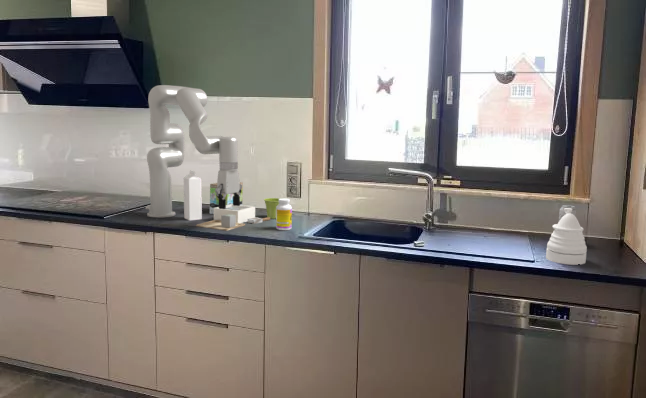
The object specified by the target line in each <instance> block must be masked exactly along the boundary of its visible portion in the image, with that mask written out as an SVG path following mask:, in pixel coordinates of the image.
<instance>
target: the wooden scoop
mask: <svg viewBox="0 0 646 398" xmlns="http://www.w3.org/2000/svg"><path fill="white" fill-rule="evenodd" d="M266 221H271V219H270V217H256V216H255V218H249V219H247V221H246V222H247V223H249V224H253V225H255V224H261V223H263V222H266Z"/></svg>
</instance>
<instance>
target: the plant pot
mask: <svg viewBox="0 0 646 398" xmlns="http://www.w3.org/2000/svg"><path fill="white" fill-rule="evenodd" d="M279 199H281V198H278V197H277V198H276V197H267V198H263V200H264V204H265V210H266V216H267V217H270V220H272V219H273V220H274V219H275V220H276V207H277V205H279ZM267 217H266V218H267Z"/></svg>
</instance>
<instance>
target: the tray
mask: <svg viewBox="0 0 646 398" xmlns="http://www.w3.org/2000/svg"><path fill="white" fill-rule="evenodd" d="M243 226H246V223H244V222H243V223H236V226H234V227H230V228H225V227H221V220H214V219H213V220H210V221H206V222H201V223H197V224H196V225H195V227H198V228H206V229H213V230H218V231H219V230H220V231H231V230H234V229H237V228H242V227H243Z"/></svg>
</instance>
